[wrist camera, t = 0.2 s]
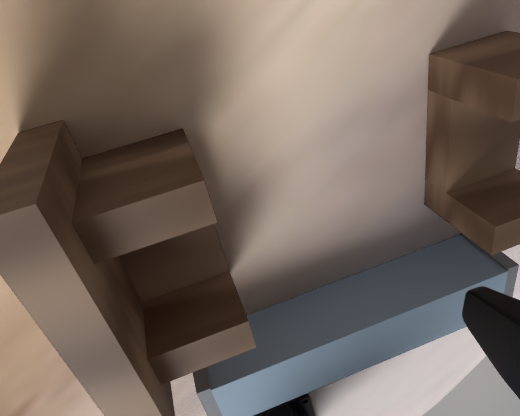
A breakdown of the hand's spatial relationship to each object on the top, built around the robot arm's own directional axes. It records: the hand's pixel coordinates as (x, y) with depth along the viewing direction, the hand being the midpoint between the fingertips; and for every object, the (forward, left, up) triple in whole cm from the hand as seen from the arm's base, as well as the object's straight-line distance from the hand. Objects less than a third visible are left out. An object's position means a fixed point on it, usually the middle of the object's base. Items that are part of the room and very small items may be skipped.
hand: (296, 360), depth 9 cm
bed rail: (-15, -7, -14) cm, 22 cm away
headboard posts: (-4, -7, -14) cm, 16 cm away
